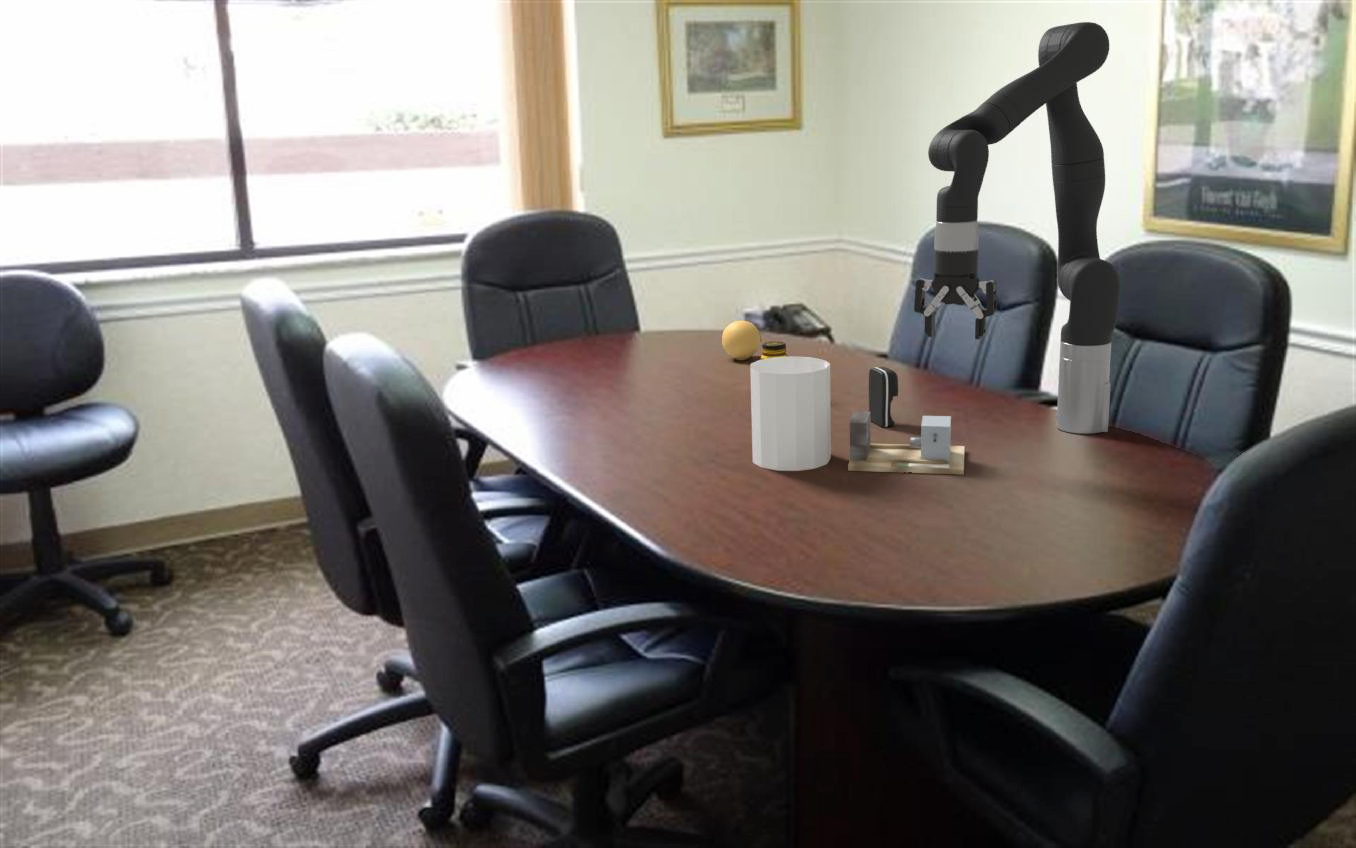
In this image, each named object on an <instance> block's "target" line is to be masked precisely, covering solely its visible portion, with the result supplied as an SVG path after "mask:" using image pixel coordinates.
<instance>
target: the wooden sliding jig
mask: <svg viewBox="0 0 1356 848" xmlns="http://www.w3.org/2000/svg"><path fill="white" fill-rule="evenodd" d="M849 421H850V422H849V462H848V465H847V467H848V468H847V471H852V472H873V473H874V472H881V473H882V472H883V473H904V472H906V474H907V473H908V472H912V474H913V473H914V474H932V475H933V474H940V475H941V474H943V475H965V474H964V473H965V472H964V471H965V445H950V462H947V460H927V459H921V448H915V447H910V444H901V443H899V444H898V443H895V444H894V443H871V420H870V412H869V411H857V410H855V411H853V412H852V416H851V419H850V420H849ZM908 474H909V473H908Z"/></svg>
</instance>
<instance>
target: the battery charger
mask: <svg viewBox="0 0 1356 848" xmlns="http://www.w3.org/2000/svg"><path fill="white" fill-rule="evenodd" d="M898 377H899V376H898V374H897V372H896V371H894V370H893V369H891V368H889V367H887V366H877V367H876V366H875V367H871V368H870V369H869V372H868V412H870V422H873V423H874V424H876V425H878V426H880V427H882V428H888V427H892V426H895V423H896V422H895V421H894V420H893V418H892V416H891V415H892V414H891V404H892V401H893V400H894V397H898V396H899V378H898Z"/></svg>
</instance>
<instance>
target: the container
mask: <svg viewBox="0 0 1356 848" xmlns="http://www.w3.org/2000/svg"><path fill="white" fill-rule="evenodd" d="M749 368H750V404H751V405H750V407H751V408H750V409H751V445H752V447H751V448H752V449H751V450H752V451H751V452H752V463H753V464H754V465H756V466H758V467H760V468H762V469H767V470H772V471H780V472H783V471H784V472H786V471H787V472H799V471H806V470H807V471H808V470H814V469H817V468H820V467H823V466H826V465H828V464H829V462H830V460H831V458H832V453H831V452H832V450H831V449H832V448H831V447H832V446H831V445H832V442H831V441H832V439H831V437H832V435H831V433H832V432H831V413H832V412H831V363H830V362H828V361H827V360H825V359H821V358H817V357H811V356H810V357H809V356H798V355H797V356H793V355H792V356H788V357H774V358H768V359H762V360H761V359H759V360H756V361H754V362H751V363H750V367H749Z"/></svg>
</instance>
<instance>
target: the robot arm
mask: <svg viewBox="0 0 1356 848" xmlns="http://www.w3.org/2000/svg"><path fill="white" fill-rule="evenodd" d="M1038 44H1039V45H1038V51H1037V52H1038V55H1037V56H1038V57H1037V59H1038V67H1037V68H1035V69H1033V70H1031V71H1030V72H1027V73H1026V74H1024V75H1022V76H1020V77H1018V78H1016V79H1014V80H1013V81H1010V82H1009V83H1007V84H1006V85H1004V86H1003V87H1001V88H1000V89H998V90H996V91H995V92H994V93H993V94H992V95H990V97H988V98H987V99H986V100H985V101H983V102H982V103H981V104H980V105H979V106H978V107H977V108H976V109H975V110H973V111H971V112H969V113H968V114H965V115H964V116H962V117H960V118H958V119H956V120H955V121H953V122H951V123H949V124H948V125H946V126H945V127H943V128H942V129H940V130H939V131H938V132H937V133H936V134H935V135H934V137H932V139H931V142H930V143H929V147H928V154H927V155H928V156H927V157H928V160H929V162H930V164H931V165H932V166H933V168H935V169H937V170H939V171H942V172H953V177H952V180H951V183H950V185H946V186H944V187H941V188H940V189H939V190H938V192H937V196H936V219H935V220H936V222H935V223H936V224H935V230H934V241H933V249H934V252H933V253H934V255H933V256H934V257H933V258H934V260H933V261H934V262H933V263H934V264H933V265H934V266H933V269H934V270H933V279H926V278H925V277H920V278H919V279H918V280H916V281H915V292H914V306H913V310H914V311H913V312H915V313H919V314H921V315H923V317H924V333H925V334H927V337H928V338H933V337H935V334H936V314H934V313H935V312H936V310H938V308H939V307H940V305H942V304H944V305H948V306H949V305H957V306H963V305H966V306H967V307H968V308H969V310H971V311H972V312H973V314H974V315H975V317H976V318H975V323H974V324H975V326H974V330H975V331H974V339H975V340H978V341H979V340H981V339H982V338H983V337H984V336H985V335H986V329H987V328H986V326H987V325H986V324H987V323H986V322H987V317H988V318H989V317H991V316H993V315H994V314H996V313H997V311H998V305H997V304H998V301H997V300H998V299H997V282H996V280H994V279H990V280H988V281H980V280H979V277H978V275H979V274H978V271H979V242H980V241H979V238H980V235H979V233H980V232H979V226H978V225H979V222H978V213H979V194H980V191H981V189H982V185H983V182H984V178H985V175H986V174H985V173H986V171H987V167H988V163H989V156H990V152H989V151H990V150H989V145H995V144H997V143H999V142H1000V141H1002V140H1003V139H1004V138H1006V137H1007V136H1008V135H1009V134H1010V133H1011V132H1013V131H1014V130H1015V129H1016V128H1017V127H1019V125H1021V124H1022V123H1023V122H1025V120H1027V119H1028V118H1029V117H1030V116H1031V115H1033V114H1034V113H1035V112H1036V111H1038V110H1039V109H1040V108H1041V107H1043V106H1044V105H1045V106H1046V113H1047V114H1046V115H1047V122H1048V123H1047V124H1048V132H1049V142H1050V157H1051V159H1050V160H1051V174H1052V185H1053V192H1054V193H1053V194H1054V203H1055V214H1056V215H1055V217H1056V223H1057V234H1058V235H1057V237H1058V240H1057V243H1058V244H1057V248H1058V249H1057V273H1056V274H1057V278H1056V279H1057V286H1058V288H1059V291H1060V293H1061V294H1062V296H1064V298H1066V299H1067V300H1068V301H1069V312H1068V313H1069V314H1068V319H1067V322H1066V323H1065V324H1063V325H1062V326H1061V331H1060V343H1059V344H1060V345H1059V346H1060V347H1059V366H1058V368H1059V369H1058V383H1057V384H1058V386H1057V387H1058V389H1057V407H1056V409H1057V411H1056V427H1057V429H1058V430H1060V431H1063V432H1066V433H1071V434H1089V435H1090V434H1097V433H1108V432H1109V418H1110V417H1109V416H1110V400H1111V382H1110V374H1111V373H1110V371H1111V370H1110V369H1111V354H1112V338H1113V337H1112V336H1113V333H1114V331H1115V329H1116V326H1117V323H1118V313H1119V312H1118V311H1119V303H1120V291H1121V284H1120V283H1121V282H1120V276H1119V275H1120V274H1119V273H1118V270H1117V268H1116V267H1115V266H1114V265H1113V264H1112V263H1110V262H1109V261H1107V260H1105V259H1102V258H1101V256H1100V251H1099V244H1098V231H1097V228H1098V227H1097V225H1098V218H1099V214H1100V210H1101V207H1102V202H1103V199H1104V196H1105V195H1104V194H1105V189H1106V165H1105V151H1104V147H1103V144H1102V142H1101V140H1100V138H1099V135H1098V134H1097V131H1096V130H1095V128H1094V127H1093V125H1092V124H1091V122H1090V121H1089V119H1088V117H1087V115H1086V114H1085V112H1084V110H1083V107H1082V105H1081V101H1080V98H1079V90H1078V82H1080V81H1082V80H1084V79H1086V78H1088V77H1090V76H1091V75H1093V74H1094V73H1095V72H1097V71H1098V70H1099V69H1100V68H1102V66H1103V65H1104V64H1105V63H1106V60H1107V59H1108V56H1109V53H1110V38H1109V36H1108V33H1107V32H1106V29H1104V27H1103V26H1102V25H1100V24H1098V23H1096V22H1091V21H1090V22H1089V21H1083V22H1075V23H1067V24H1064V25H1057V26H1053V27H1051V28H1049V29H1047V30H1046V31H1045V32H1044V33H1043V35H1042V36H1041V39H1040V41H1039V43H1038ZM930 287H931V288H932V290H933V291H934V292H935V294H936V295H935V297H934V298H933V299H932V300H931V302H930V303H929V305H928V306H927V305H926V292H927V291H929V289H930ZM979 289H981V290H982V293H983V294H985V295H986V296H985V297H986V298H985V300H986V301H985V302H986V303H985V304H986V308H984V306H983V305H982V303H981V301H980V299H979V298H978V297H977V295H976V293H977V291H979Z"/></svg>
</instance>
